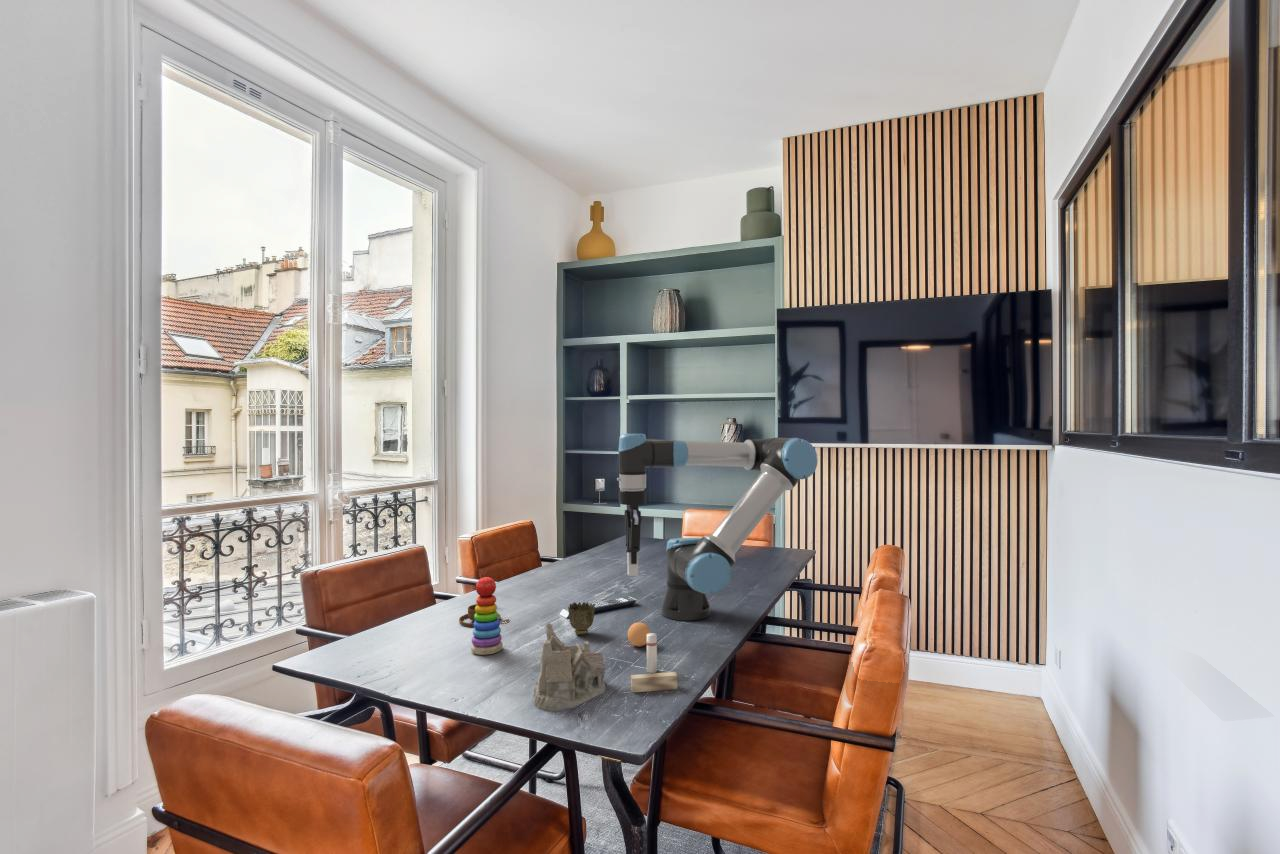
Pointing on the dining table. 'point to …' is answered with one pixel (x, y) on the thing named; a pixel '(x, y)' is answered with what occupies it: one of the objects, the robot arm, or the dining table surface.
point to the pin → (651, 652)
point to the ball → (638, 634)
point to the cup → (581, 617)
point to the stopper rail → (653, 682)
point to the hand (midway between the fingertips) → (632, 574)
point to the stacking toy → (486, 620)
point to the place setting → (471, 616)
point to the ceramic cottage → (567, 674)
